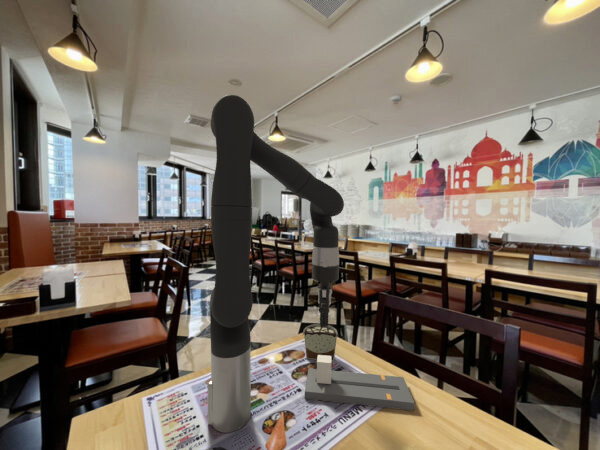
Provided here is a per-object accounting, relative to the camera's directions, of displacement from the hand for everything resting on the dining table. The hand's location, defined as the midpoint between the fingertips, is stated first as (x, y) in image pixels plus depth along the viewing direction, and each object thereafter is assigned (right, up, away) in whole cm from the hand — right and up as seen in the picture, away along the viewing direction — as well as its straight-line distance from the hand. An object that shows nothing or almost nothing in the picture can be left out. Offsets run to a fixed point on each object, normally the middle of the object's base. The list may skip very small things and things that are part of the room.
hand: (324, 319), depth 69 cm
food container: (0, -20, +17) cm, 26 cm away
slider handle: (0, -17, +1) cm, 17 cm away
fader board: (+9, -20, -1) cm, 22 cm away
